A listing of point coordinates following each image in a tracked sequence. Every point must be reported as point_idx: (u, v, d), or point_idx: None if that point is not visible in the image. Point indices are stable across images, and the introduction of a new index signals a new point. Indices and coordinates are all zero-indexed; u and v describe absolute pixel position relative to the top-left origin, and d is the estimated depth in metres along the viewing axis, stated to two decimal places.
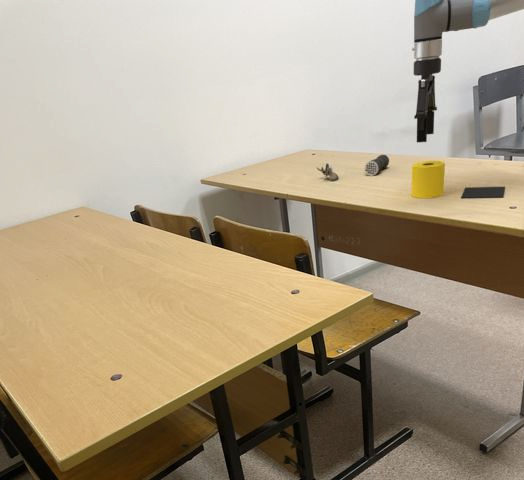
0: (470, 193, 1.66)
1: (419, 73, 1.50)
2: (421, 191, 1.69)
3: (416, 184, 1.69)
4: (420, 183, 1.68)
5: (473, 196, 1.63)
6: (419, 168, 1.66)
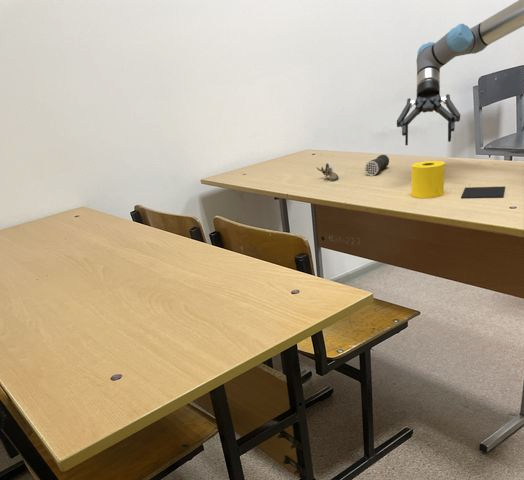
0: (470, 193, 1.66)
1: None
2: (421, 191, 1.69)
3: (416, 184, 1.69)
4: (420, 183, 1.68)
5: (473, 196, 1.63)
6: (419, 168, 1.66)
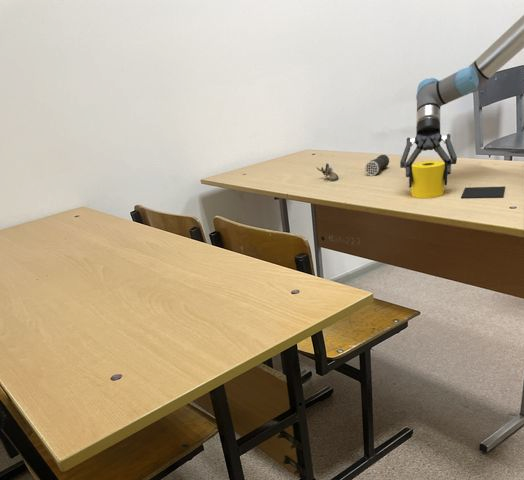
0: (470, 193, 1.66)
1: None
2: (421, 191, 1.69)
3: (416, 184, 1.69)
4: (420, 183, 1.68)
5: (473, 196, 1.63)
6: (419, 168, 1.66)
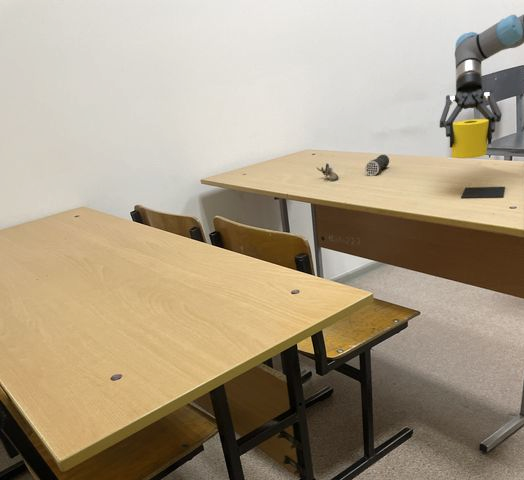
0: (470, 193, 1.66)
1: None
2: (464, 151, 1.58)
3: (458, 143, 1.58)
4: (463, 142, 1.57)
5: (473, 196, 1.63)
6: (461, 125, 1.55)
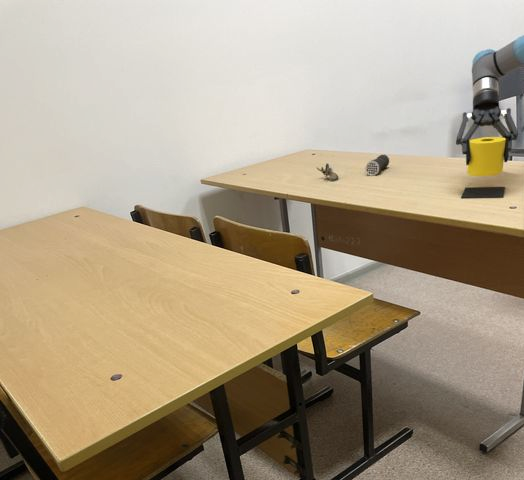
0: (470, 193, 1.66)
1: None
2: (480, 169, 1.59)
3: (475, 161, 1.59)
4: (479, 160, 1.58)
5: (473, 196, 1.63)
6: (479, 144, 1.56)
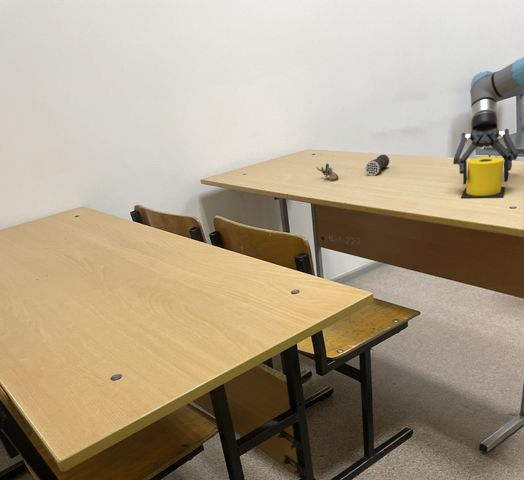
0: None
1: None
2: (478, 189, 1.62)
3: (473, 181, 1.62)
4: (478, 180, 1.61)
5: (473, 196, 1.63)
6: (477, 164, 1.59)
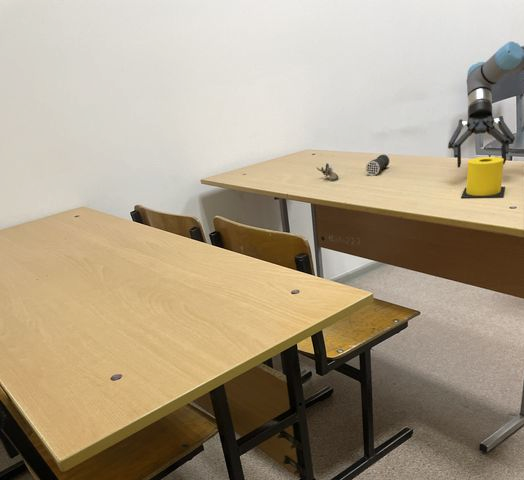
0: None
1: None
2: (478, 189, 1.62)
3: (473, 181, 1.62)
4: (478, 180, 1.61)
5: (473, 196, 1.63)
6: (477, 164, 1.59)
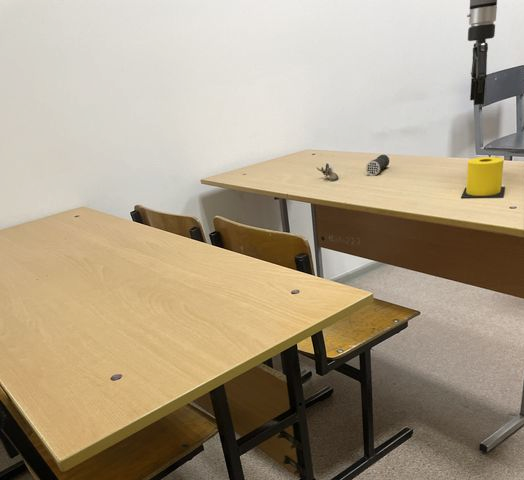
0: None
1: (476, 38, 1.58)
2: (478, 189, 1.62)
3: (473, 181, 1.62)
4: (478, 180, 1.61)
5: (473, 196, 1.63)
6: (477, 164, 1.59)
